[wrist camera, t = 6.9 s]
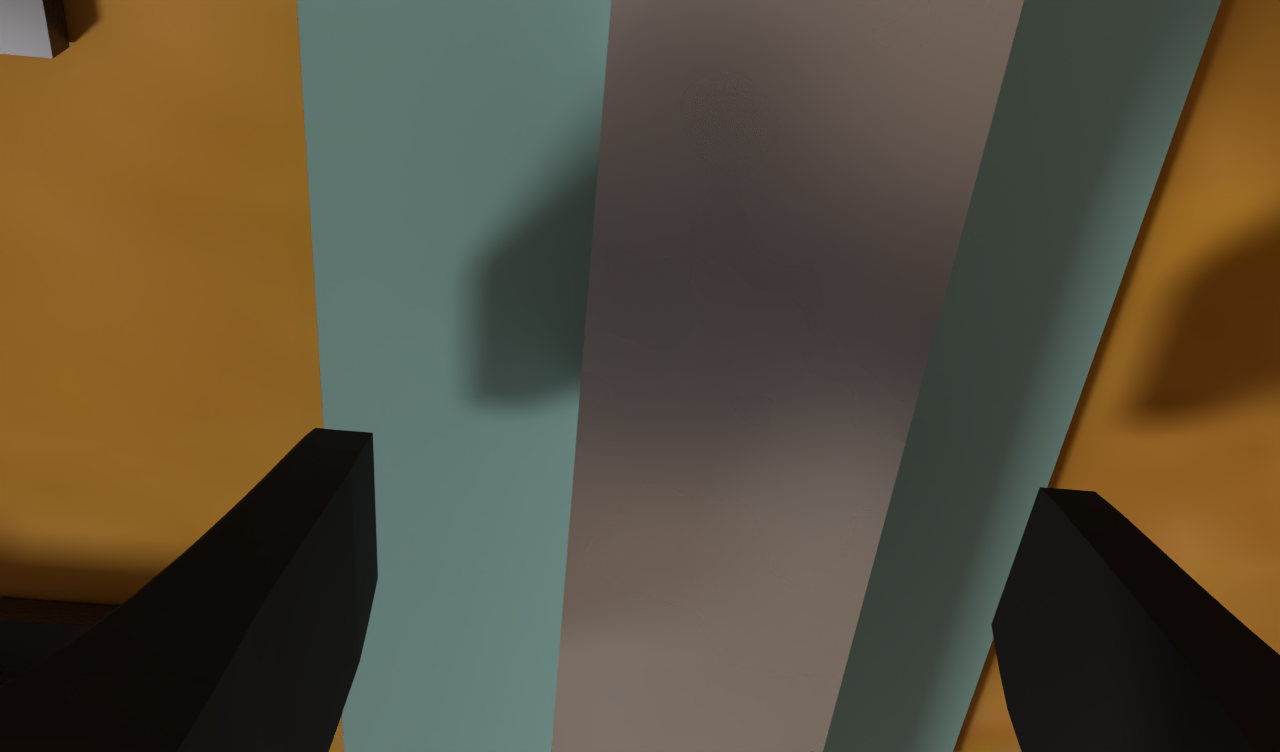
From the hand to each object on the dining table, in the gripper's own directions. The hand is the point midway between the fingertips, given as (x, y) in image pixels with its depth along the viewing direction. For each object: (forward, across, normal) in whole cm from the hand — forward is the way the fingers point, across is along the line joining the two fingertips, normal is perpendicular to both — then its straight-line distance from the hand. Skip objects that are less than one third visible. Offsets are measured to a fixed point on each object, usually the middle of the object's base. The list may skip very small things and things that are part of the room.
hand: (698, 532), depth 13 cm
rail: (+2, 0, 0) cm, 2 cm away
